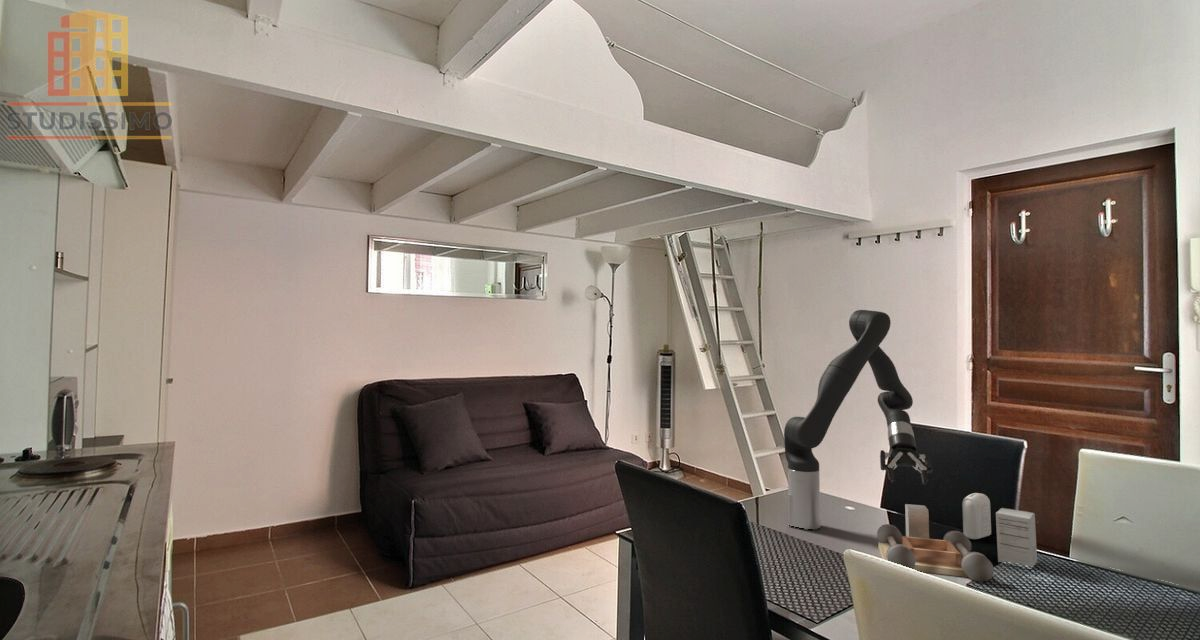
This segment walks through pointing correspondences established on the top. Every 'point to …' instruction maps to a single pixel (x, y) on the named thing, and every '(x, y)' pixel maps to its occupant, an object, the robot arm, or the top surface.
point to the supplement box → (1016, 537)
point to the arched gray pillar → (976, 516)
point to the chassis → (934, 554)
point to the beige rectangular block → (917, 521)
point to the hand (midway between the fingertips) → (908, 482)
